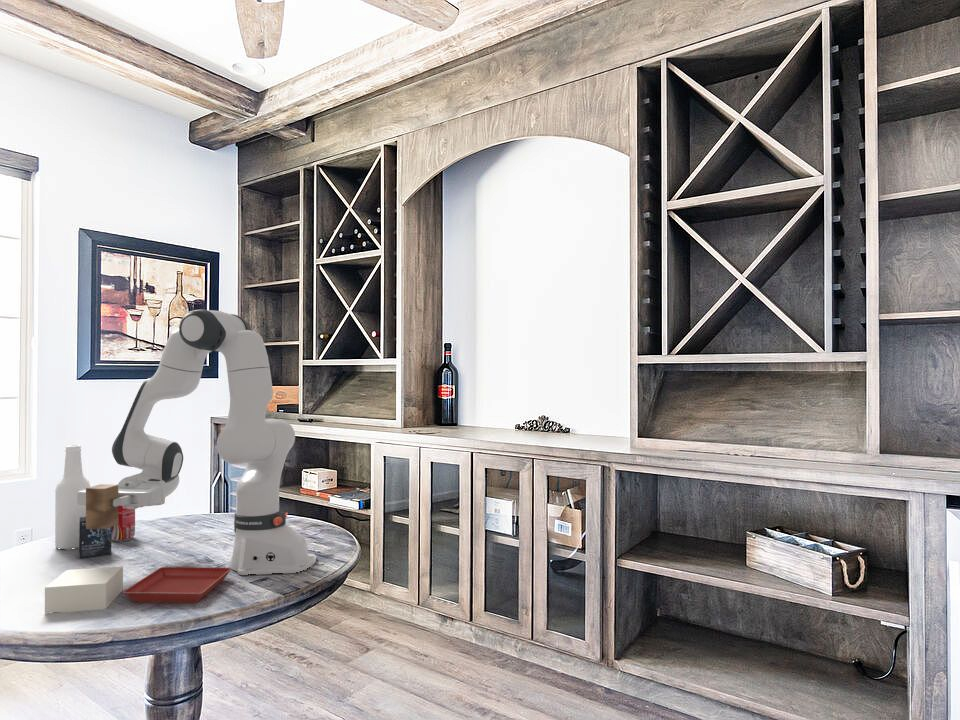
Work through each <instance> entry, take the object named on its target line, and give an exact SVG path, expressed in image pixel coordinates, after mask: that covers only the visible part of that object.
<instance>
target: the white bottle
mask: <svg viewBox="0 0 960 720" xmlns="http://www.w3.org/2000/svg"><path fill="white" fill-rule="evenodd" d="M81 452H82V445H81V444H70V445H66V446H65V459H64V467H63V468H64V469H63V470H64V471H63V475H62V478H61V479H59V481H58V483H57V484H56V485H55V486H56V487H55V494H54V495H55V497H54V498H55V505H54V507H55V510H54V512H55V513H54V514H55V517H54V518H55V520H54V521H55V522H54V524H55V525H54V526H55V528H54V529H55V533H54V534H55V540H54V541H55V542H54V543H55V547H56V549H57V548H60V549H72V548H78V549H79V523H80V517H86V506H85V505H79V504H78V502H77V494H78V492H79V491H81V490H85V489H86V488H89V487H91V484H90V481H89V480H88V478H87V477H86V476H84V472H83V464H82V453H81ZM72 550H73V549H72Z"/></svg>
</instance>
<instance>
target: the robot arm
mask: <svg viewBox="0 0 960 720" xmlns="http://www.w3.org/2000/svg"><path fill="white" fill-rule="evenodd" d="M178 325H179V326H178V328H176V329H174V330H173V331H172V332H171V333H170V335H169V337H168V338H167V340H166V343H165V344H164V348H163V351H162V354H161V356H160V357H161V358H160V361H159V365H158V367H157V369H156V372H155V373H154V374H153V375H152V376H151V377H149V378H147V379H145V380H144V381H143V383H142V384H141V385H140V387H139V389H138V391H137V394H136V396H135V398H134V400H133V402H132V405H131V407H130V410H129V412H128V414H127V416H126V419H125V421H124V422H123V423H124V424H123V425H122V428H121V430H120V431H119V433H118V435H117V436H116V438H115V440H114V441H113V442H112V443H113V444H112V447H111V454H112V457H113V459H114V461H115V462H116V464H118V465H120V466H124V467H129V468H135V469H138V470H142V471H141V472H139V473H136V474H133V475H129V476H125V477H124V478H122V479H121V480H120V481H119V482H118V483H117V485H118V498H113V499H111V500H110V506H111V507H117V506H123V507H124V508H126V509H135V510H136V509H140V508H144V507H154V506H162V505H165V502H166V497H168V496H169V495H172V493H174V492H175V491H176V489H177V488H178V486H179V483H180V472H181V471H182V467H183V462H184V453H183V450H182V447H181V446H180V444H179V443H178V442H177V441H172V440H169V439H166V438H163V437H158V436H155V435H150V434H147V433H146V432H145V427H146V424H147V422H148V420H149V417H150V415H151V413H152V411H153V408H154V406H155V405H156V404H157V403H158V402H160V401H163V400H171V399H172V400H173V399H179V398H184V397H186V396H189V395H190V394H192V393H194V392H195V390H196V389H197V387H198V386H199V384H200V381H201V378H202V373H203V369H204V363H205V360H206V357H207V356H208V355H209V354H210V353H212V352H217V353H221V354H222V355H223V357H224V359H225V364H226V374H227V382H228V391H229V410H228V415H227V419H226V423H225V426H223V429H222V430H221V432H220V433H219V435H218V437H217V441H216V450H217V454H218V455H219V457H220V458H221V459H222V460H223V462H225V463H228V464H231V465H246V467H245V469H244V471H243V474H242V476H241V477H240V478H239V479H238V481H237V483H236V487H235V497H236V500H235V501H236V502H235V504H236V505H235V507H236V508H235V510H236V511H235V513H234V519H233V528H234V529H233V530H234V534H235V535H234V545H233V551H232V555H231V559H230V563H229V568H231V570H232V571H235V572H237V574H238V575H240V576H251V575H250V574H256V575H271V574H272V573H283V574H297V573H296V572H298V573H301V572H300V571H302V572H304V571H306V570H308V569H310V568H311V567H313V565H314V564H315V563H316V562H317V556H316V553H315V554H314V553H309V550H308V544H307V541H306V538H305V537H304V536H303V535H301V534H300V533H298V531H296V530H294V529H293V528H292V527H291V526H289V525H288V524H287V523H286V522H287V518H288V512H285V513H284V512H283V511H281V509H280V485H281V477H282V472H283V469H284V465H285V462H286V459H287V456H288V454H289V452H290V450H291V449H293V446H294V445H295V441H296V432H295V429H294V427H293V426H292V425H291V424H290V423H289V422H288V421H286V420H284V419H283V420H282V419H277V418H267V419H266V415H267V409H268V405H269V403H270V402H271V400H272V399H273V397H274V389H273V383H272V382H273V381H272V374H271V367H270V361H269V356H268V352H267V349H266V345H265V343H264V340H263V337H262V335H261V334H260V333H259V332H257V331H254V330H252V329H251V327H250V324H249V323H248V322H247V320H246V319H244V317H243V318H242V317H241V316H239V315H237V314H233V313H227V312H223V311H222V310H215V309H214V310H211V309H205V308H204V309H202V308H201V309H195V310H191V311H188V312H187V313H185V314H184V315H183V317H181V320H180V321H179V324H178ZM77 502H78V504H79V505H85V506H86V489H85V490H81V491H79V492H78V494H77ZM309 567H310V568H309ZM307 568H308V569H307ZM303 570H304V571H303ZM248 574H249V575H248ZM272 575H273V574H272Z"/></svg>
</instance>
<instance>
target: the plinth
mask: <svg viewBox="0 0 960 720" xmlns="http://www.w3.org/2000/svg"><path fill="white" fill-rule="evenodd" d="M122 592H124V566H110V567H92V568H90V567H89V568H78V569H66V570H65V571H64V572H63V573H61V574H60V575H59V576H58V577H56V578H54V580H53V581H51V582H50V583H49V584H47V585H46V586H44V614H45V613H49V614H54V613H53V612H62V613H72V612H74V613H75V612H84V611H85V612H87V611H97V610H106V609H107V608H108V607H109V606H110V605H111V604H112V603H113V602H114V601H115V599H116V598H117V597H118V596H119V595H120V594H121V593H122ZM50 612H51V613H50Z"/></svg>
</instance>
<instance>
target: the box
mask: <svg viewBox="0 0 960 720" xmlns="http://www.w3.org/2000/svg"><path fill="white" fill-rule="evenodd" d="M112 541H113V540H112V527H110V528H108V529H86V517H80V523H79V548H78V554H79V555H78V557H79V559H85V558H93V557H99V556H100V557H101V556H105V555H106V556H108V555H109V554H110V555H112ZM92 556H93V557H92Z"/></svg>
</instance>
